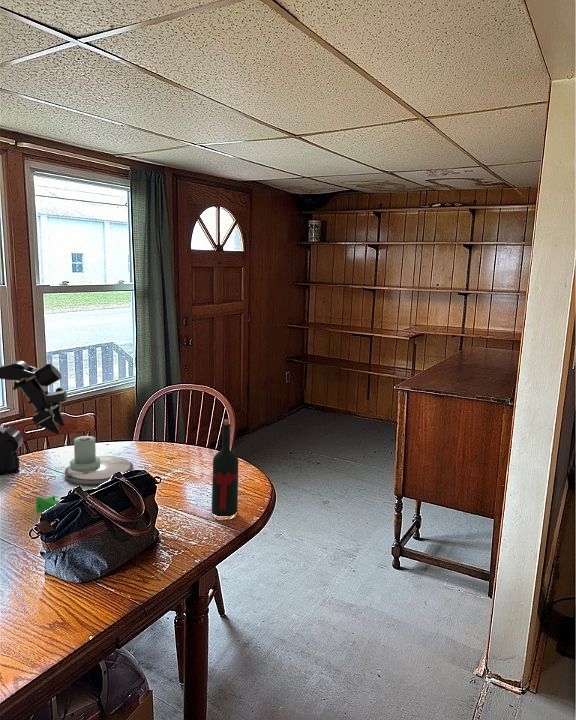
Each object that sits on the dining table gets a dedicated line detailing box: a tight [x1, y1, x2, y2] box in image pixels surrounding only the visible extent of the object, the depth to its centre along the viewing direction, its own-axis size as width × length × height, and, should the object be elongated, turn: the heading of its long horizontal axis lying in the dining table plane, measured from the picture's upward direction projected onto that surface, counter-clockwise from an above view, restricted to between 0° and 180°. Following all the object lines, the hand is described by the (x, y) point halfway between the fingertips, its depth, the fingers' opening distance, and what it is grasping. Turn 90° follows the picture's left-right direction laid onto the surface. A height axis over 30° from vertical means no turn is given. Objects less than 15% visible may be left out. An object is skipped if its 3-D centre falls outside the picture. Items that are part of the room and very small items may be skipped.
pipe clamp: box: [35, 495, 61, 514], centre depth 152 cm, size 11×4×5 cm, turn 63°
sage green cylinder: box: [69, 435, 100, 471], centre depth 182 cm, size 10×10×10 cm
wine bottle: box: [211, 418, 239, 516], centre depth 152 cm, size 8×10×30 cm
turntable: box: [64, 455, 134, 487], centre depth 183 cm, size 23×23×2 cm
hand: (61, 429), depth 183 cm, fingers open, 9 cm apart
